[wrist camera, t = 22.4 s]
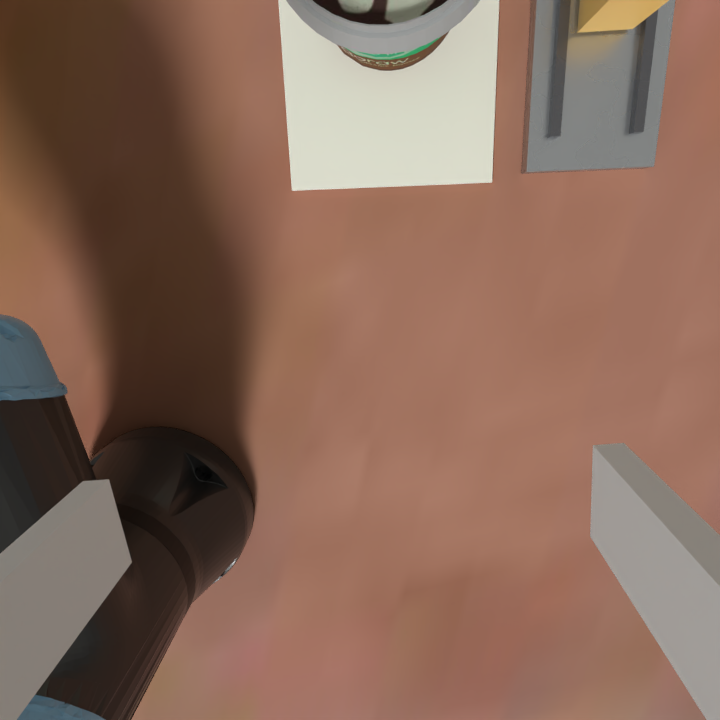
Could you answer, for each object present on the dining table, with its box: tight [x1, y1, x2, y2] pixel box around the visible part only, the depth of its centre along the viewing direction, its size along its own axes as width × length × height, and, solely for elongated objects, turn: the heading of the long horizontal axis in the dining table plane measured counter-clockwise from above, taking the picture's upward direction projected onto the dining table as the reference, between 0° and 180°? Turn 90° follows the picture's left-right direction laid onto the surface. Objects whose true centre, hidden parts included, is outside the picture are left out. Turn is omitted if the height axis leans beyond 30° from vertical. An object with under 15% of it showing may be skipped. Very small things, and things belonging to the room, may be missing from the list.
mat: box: [278, 0, 499, 191], centre depth 32 cm, size 14×18×1 cm
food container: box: [286, 0, 480, 71], centre depth 27 cm, size 12×6×10 cm, turn 93°
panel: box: [521, 0, 675, 174], centre depth 30 cm, size 8×15×2 cm, turn 2°
